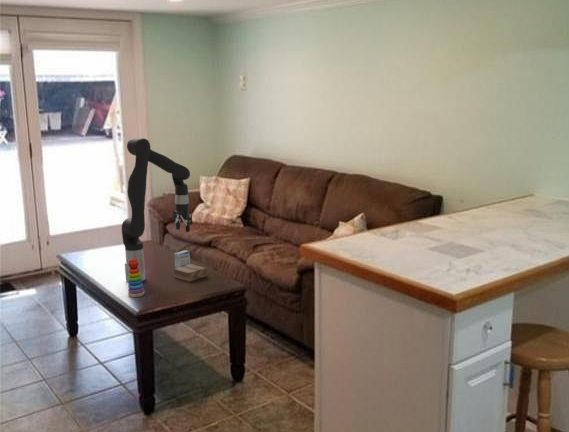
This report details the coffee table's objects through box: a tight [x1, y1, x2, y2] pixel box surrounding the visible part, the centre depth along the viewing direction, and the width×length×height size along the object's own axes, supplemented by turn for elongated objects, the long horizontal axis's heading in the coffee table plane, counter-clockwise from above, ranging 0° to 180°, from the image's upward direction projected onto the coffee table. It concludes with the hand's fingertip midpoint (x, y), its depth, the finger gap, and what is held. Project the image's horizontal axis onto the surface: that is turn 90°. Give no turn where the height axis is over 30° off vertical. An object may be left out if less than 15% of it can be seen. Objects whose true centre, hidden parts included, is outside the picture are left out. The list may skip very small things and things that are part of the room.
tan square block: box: [173, 263, 207, 282], centre depth 325 cm, size 12×12×5 cm
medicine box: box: [173, 249, 191, 269], centre depth 343 cm, size 8×4×9 cm, turn 143°
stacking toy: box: [127, 258, 145, 298], centre depth 296 cm, size 8×8×19 cm
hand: (182, 230), depth 341 cm, fingers open, 8 cm apart
